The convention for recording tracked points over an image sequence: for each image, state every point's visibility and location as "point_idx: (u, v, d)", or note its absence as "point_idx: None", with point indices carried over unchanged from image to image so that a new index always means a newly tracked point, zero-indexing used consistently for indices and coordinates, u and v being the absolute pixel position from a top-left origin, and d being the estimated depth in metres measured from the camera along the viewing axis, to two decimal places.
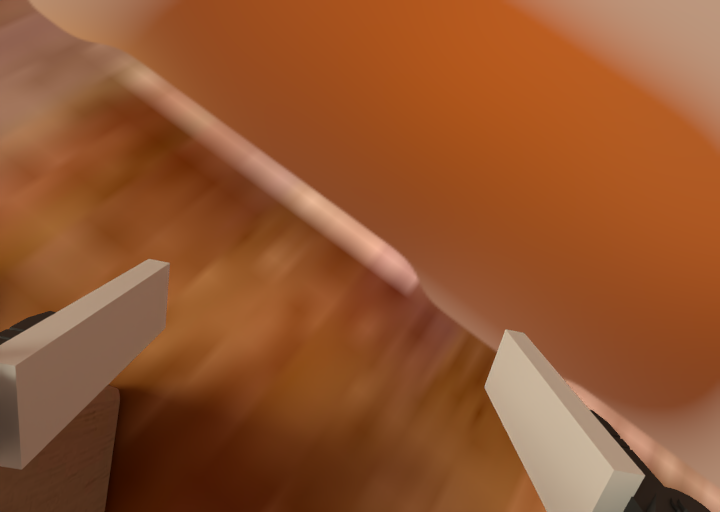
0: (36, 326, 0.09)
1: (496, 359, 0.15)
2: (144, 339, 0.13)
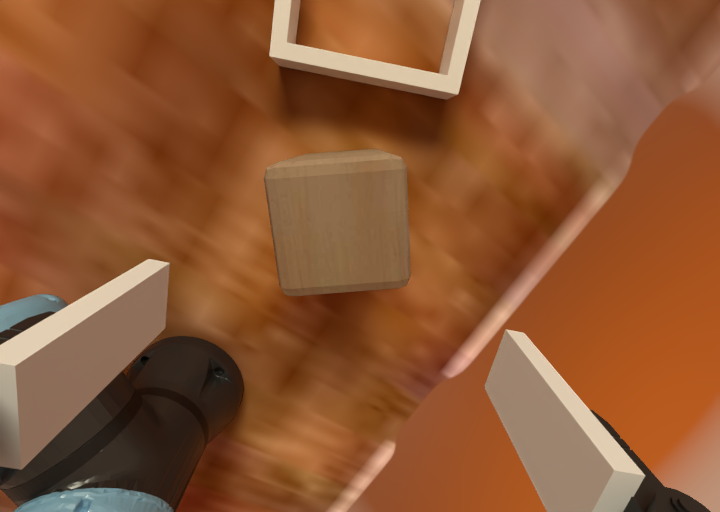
0: (36, 326, 0.09)
1: (496, 359, 0.15)
2: (144, 339, 0.13)
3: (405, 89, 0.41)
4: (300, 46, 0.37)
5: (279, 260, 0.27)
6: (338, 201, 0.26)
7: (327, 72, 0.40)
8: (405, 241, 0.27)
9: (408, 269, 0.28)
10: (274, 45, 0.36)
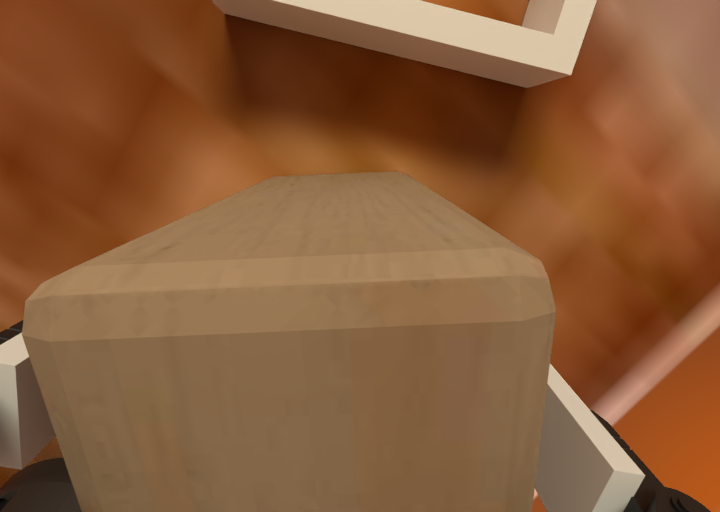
0: None
1: None
2: None
3: (458, 65, 0.22)
4: None
5: None
6: (302, 423, 0.07)
7: (312, 25, 0.21)
8: None
9: None
10: None
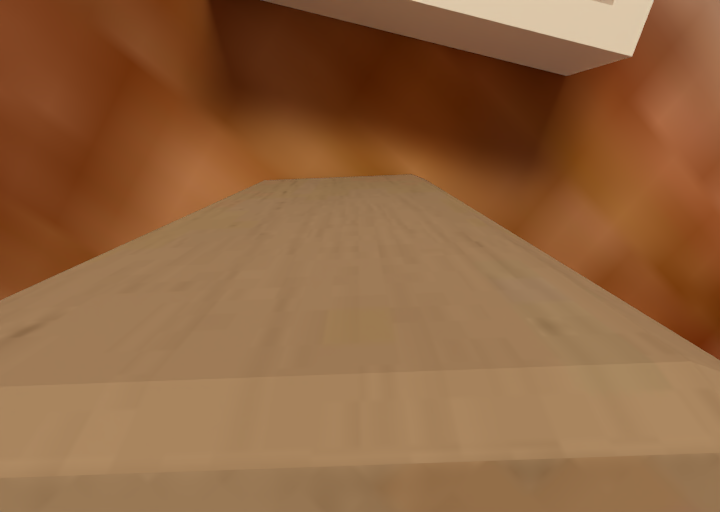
0: None
1: None
2: None
3: (485, 47, 0.18)
4: None
5: None
6: None
7: None
8: None
9: None
10: None
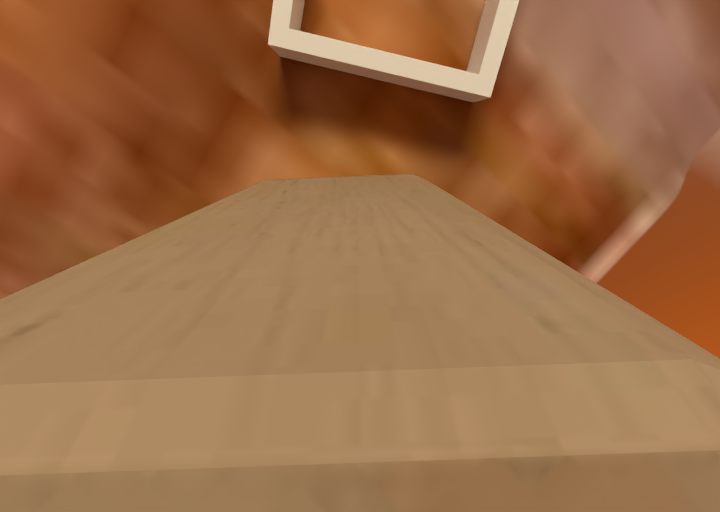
0: None
1: None
2: None
3: (426, 89, 0.35)
4: (305, 33, 0.31)
5: None
6: None
7: (336, 66, 0.34)
8: None
9: None
10: (274, 31, 0.31)
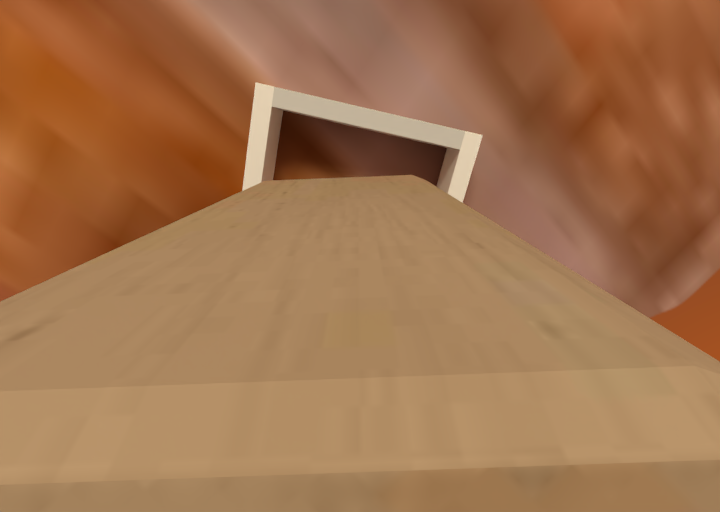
0: None
1: None
2: None
3: None
4: None
5: None
6: None
7: None
8: None
9: None
10: None
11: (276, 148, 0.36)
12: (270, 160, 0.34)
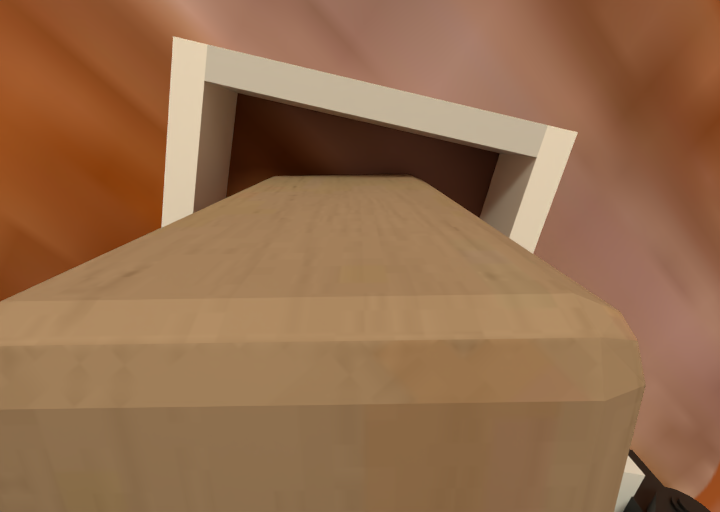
0: None
1: None
2: None
3: None
4: None
5: None
6: None
7: None
8: None
9: None
10: None
11: (227, 154, 0.22)
12: (214, 174, 0.21)
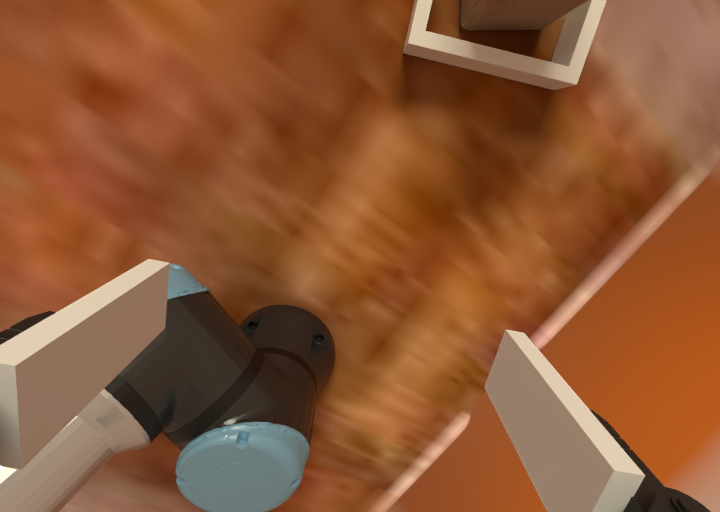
0: (35, 326, 0.09)
1: (496, 359, 0.15)
2: (144, 339, 0.13)
3: (520, 79, 0.44)
4: (437, 35, 0.40)
5: None
6: None
7: (451, 60, 0.43)
8: None
9: None
10: (413, 33, 0.40)
11: None
12: None
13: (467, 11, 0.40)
